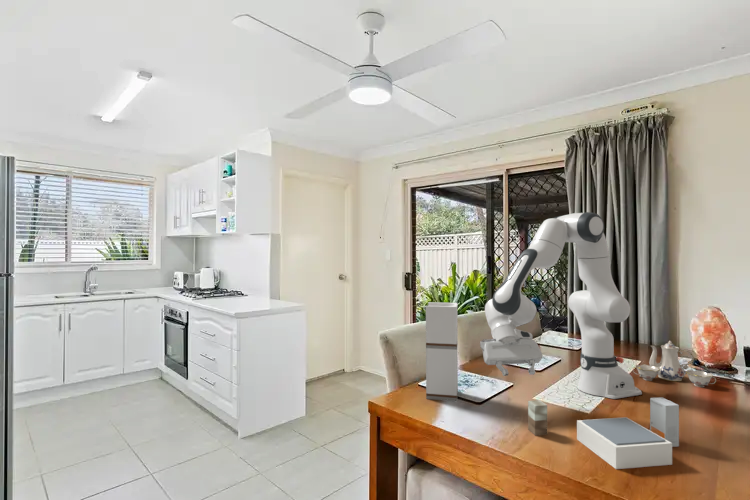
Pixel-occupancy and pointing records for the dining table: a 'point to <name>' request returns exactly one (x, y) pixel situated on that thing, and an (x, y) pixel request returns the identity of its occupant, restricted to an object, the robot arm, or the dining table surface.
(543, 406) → the block
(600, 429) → the block
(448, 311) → the banded white tower
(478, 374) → the dining table surface
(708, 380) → the chinaware
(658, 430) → the skincare box
